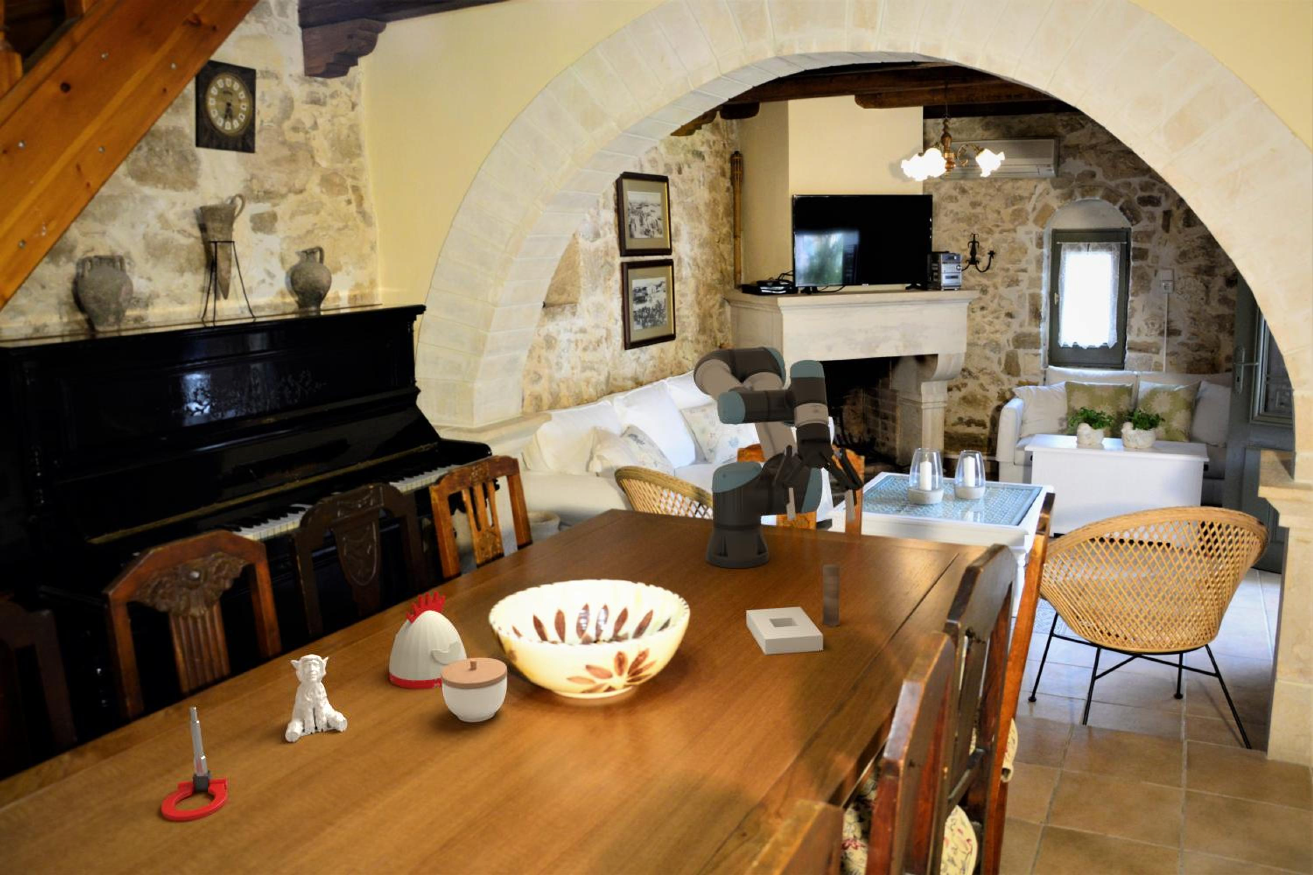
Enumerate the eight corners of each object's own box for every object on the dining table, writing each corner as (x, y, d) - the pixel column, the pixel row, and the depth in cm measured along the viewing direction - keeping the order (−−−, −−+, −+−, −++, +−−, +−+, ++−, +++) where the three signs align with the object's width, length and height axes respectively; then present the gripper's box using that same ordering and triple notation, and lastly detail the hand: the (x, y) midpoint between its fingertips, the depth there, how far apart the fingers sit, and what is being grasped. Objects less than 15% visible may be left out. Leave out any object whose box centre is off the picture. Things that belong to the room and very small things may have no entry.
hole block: (746, 624, 213) (746, 610, 212) (800, 620, 214) (800, 606, 214) (765, 654, 197) (765, 639, 197) (822, 650, 198) (822, 635, 198)
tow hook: (218, 821, 144) (235, 784, 153) (207, 734, 141) (225, 702, 150) (153, 827, 143) (174, 789, 152) (141, 740, 140) (163, 707, 149)
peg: (820, 622, 213) (821, 564, 211) (836, 620, 214) (836, 563, 211) (825, 627, 210) (825, 569, 208) (841, 626, 211) (841, 568, 208)
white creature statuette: (286, 744, 165) (280, 671, 163) (278, 723, 173) (272, 653, 171) (348, 730, 170) (343, 659, 168) (337, 710, 177) (332, 642, 175)
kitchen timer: (483, 671, 192) (479, 592, 190) (419, 695, 182) (414, 612, 180) (437, 652, 202) (433, 577, 199) (374, 675, 192) (368, 595, 189)
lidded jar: (520, 704, 178) (517, 651, 176) (490, 732, 168) (487, 676, 166) (463, 697, 181) (460, 645, 180) (430, 723, 171) (427, 669, 170)
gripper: (764, 418, 228) (772, 512, 221) (871, 423, 234) (883, 516, 226) (753, 431, 235) (760, 523, 227) (858, 436, 241) (868, 526, 233)
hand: (821, 519), depth 227 cm, fingers open, 13 cm apart
